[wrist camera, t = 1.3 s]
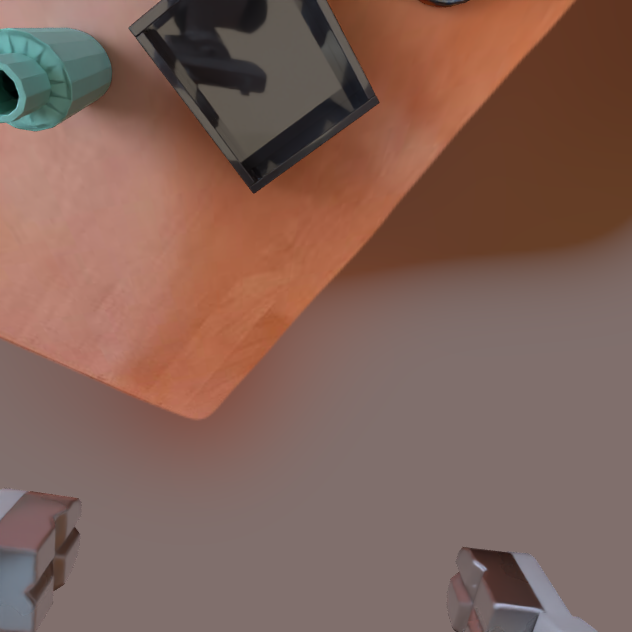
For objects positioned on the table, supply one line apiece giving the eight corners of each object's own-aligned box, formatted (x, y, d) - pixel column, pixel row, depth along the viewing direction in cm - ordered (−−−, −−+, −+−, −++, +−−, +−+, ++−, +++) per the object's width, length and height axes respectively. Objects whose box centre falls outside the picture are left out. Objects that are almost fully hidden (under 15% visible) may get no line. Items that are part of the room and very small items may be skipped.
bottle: (25, 56, 43) (-97, 74, 26) (75, 13, 42) (-18, 4, 25) (78, 115, 46) (0, 166, 29) (126, 76, 45) (73, 105, 28)
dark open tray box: (138, 27, 43) (127, 27, 38) (268, -81, 41) (276, -97, 36) (249, 177, 52) (253, 194, 47) (362, 94, 50) (380, 102, 44)
